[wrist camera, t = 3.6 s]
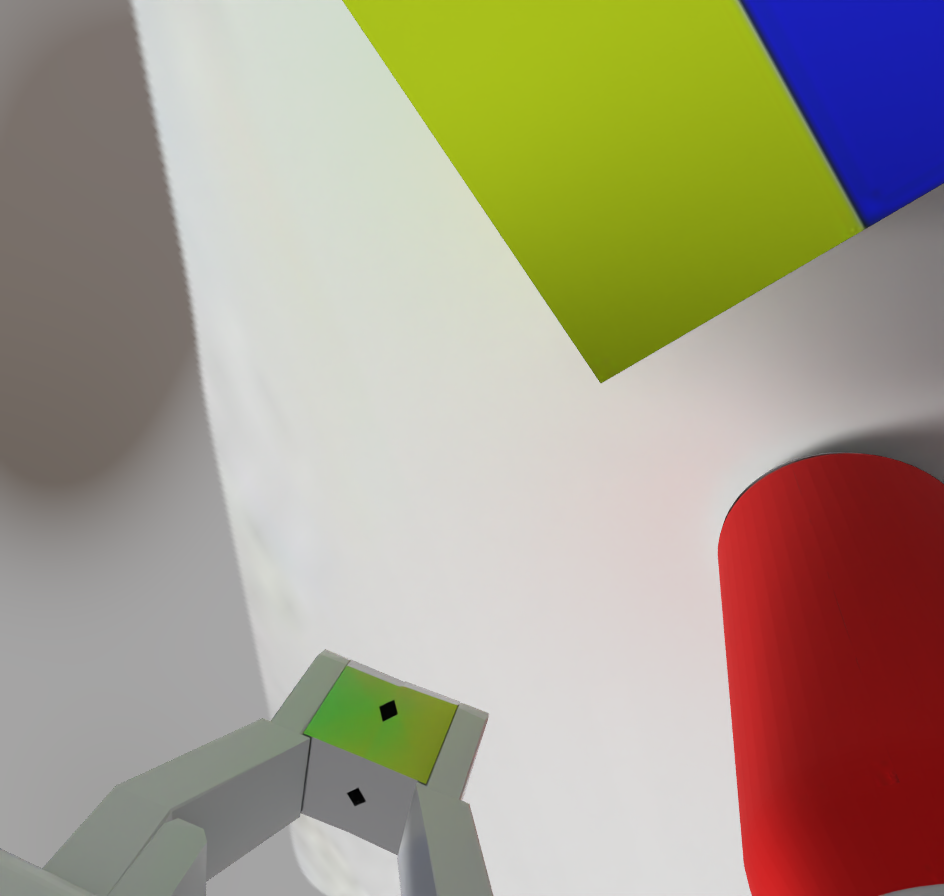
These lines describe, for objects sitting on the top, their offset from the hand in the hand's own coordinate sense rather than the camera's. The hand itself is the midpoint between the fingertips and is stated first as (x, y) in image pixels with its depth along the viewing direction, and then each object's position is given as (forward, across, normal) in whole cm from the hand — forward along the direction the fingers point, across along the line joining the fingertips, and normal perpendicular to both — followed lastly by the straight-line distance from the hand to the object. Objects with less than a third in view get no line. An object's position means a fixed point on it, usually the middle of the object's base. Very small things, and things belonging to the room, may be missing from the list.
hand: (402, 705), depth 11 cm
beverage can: (+11, -9, 0) cm, 14 cm away
